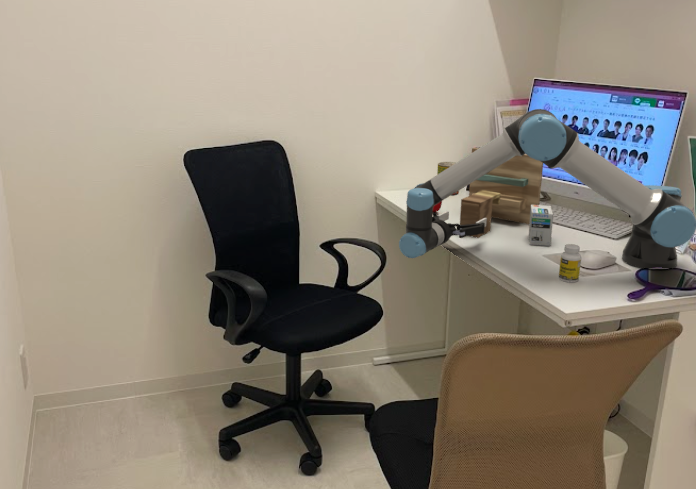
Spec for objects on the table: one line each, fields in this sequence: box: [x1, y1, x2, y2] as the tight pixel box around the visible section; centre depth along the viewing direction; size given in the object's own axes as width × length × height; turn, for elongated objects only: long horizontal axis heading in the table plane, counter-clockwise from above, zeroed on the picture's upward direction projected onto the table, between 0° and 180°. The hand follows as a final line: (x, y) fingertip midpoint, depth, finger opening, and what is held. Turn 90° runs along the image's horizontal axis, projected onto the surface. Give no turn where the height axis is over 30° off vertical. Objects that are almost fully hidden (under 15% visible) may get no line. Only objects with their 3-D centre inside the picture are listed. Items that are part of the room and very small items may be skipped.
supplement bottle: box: [558, 243, 582, 283], centre depth 194 cm, size 5×5×10 cm
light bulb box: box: [528, 204, 554, 247], centre depth 226 cm, size 11×7×11 cm, turn 168°
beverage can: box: [436, 161, 460, 197], centre depth 285 cm, size 9×9×12 cm
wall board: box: [468, 147, 544, 225], centre depth 247 cm, size 11×26×24 cm, turn 54°
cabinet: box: [459, 190, 500, 239], centre depth 236 cm, size 16×7×12 cm, turn 144°
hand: (466, 218), depth 229 cm, fingers open, 13 cm apart
